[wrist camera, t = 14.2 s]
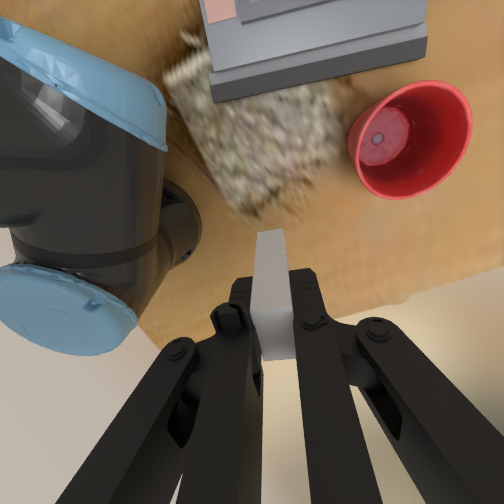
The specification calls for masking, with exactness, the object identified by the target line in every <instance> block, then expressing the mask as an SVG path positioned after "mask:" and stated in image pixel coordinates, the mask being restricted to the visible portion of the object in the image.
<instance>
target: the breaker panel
mask: <svg viewBox="0 0 504 504" xmlns="http://www.w3.org/2000/svg"><path fill="white" fill-rule="evenodd" d="M199 2H200V7H201V11H202V16H203V21H204V26H205V31H206V36H207V40H208V45H209V50H210V55H211V60H212V64H213V69H214V72H216V73H220V72H224V71H228V70H233V69H237V68H241V67H245V66H250V65H254V64H258V63H262V62H267V61H271V60H275V59H279V58H284V57H288V56H292V55H296V54H301V53H305V52H309V51H314V50H318V49H322V48H326V47H331V46H335V45H339V44H343V43H348V42H352V41H356V40H360V39H365V38H369V37H373V36H377V35H382V34H386V33H390V32H394V31H399V30H403V29H407V28H412V27H416V26H418V25H420V24H422V23H424V22H425V17H426V8H427V0H199Z"/></svg>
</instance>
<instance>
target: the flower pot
mask: <svg viewBox="0 0 504 504" xmlns="http://www.w3.org/2000/svg"><path fill="white" fill-rule="evenodd" d="M472 125H473V121H472V112H471V108H470V105H469V103H468V101H467V99H466V98H465V96H464V95H463V94H462V93H461V92H460V91H459V90H458V89H457V88H455V87H454V86H452V85H450V84H448V83H445V82H442V81H436V80H425V81H419V82H414V83H411V84H408V85H406V86H403V87H401V88H399V89H397V90H395V91H394V92H392V93H390V94H388V95H387V96H385V97H384V98H382V99H381V100H379V101H377V102H376V103H374V104H373V105H372V106H370V107H369V108H368V109H366V110H365V111H364V112H363V113H361V114H360V115H359V116H358V117H357V119H356V120H355V121H354V123H353V125H352V127H351V129H350V131H349V135H348V142H347V144H348V151H349V154H350V158H351V161H352V163H353V166H354V168H355V171H356V173H357V175H358V177H359V179H360V181H361V182H362V184H363V185H364V186H365V188H366V189H367V190H368V191H370V192H371V193H372V194H374V195H376V196H378V197H381V198H385V199H391V200H399V199H407V198H411V197H415V196H418V195H420V194H423V193H425V192H427V191H429V190H430V189H432V188H434V187H435V186H437V185H438V184H439V183H441V182H442V181H443V180H444V179H446V178H447V177H448V176H449V175H450V174H451V173H452V171H453V170H454V169H455V168H456V167H457V165H458V164H459V162H460V161H461V159H462V157H463V156H464V154H465V152H466V149H467V147H468V144H469V141H470V138H471V134H472Z"/></svg>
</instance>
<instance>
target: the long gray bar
mask: <svg viewBox="0 0 504 504" xmlns="http://www.w3.org/2000/svg"><path fill="white" fill-rule="evenodd" d="M426 30H427V23H423V24H420V25H418V26H416V27H412V28H407V29H403V30H399V31H394V32H390V33H386V34H382V35H377V36H373V37H369V38H365V39H360V40H356V41H352V42H348V43H343V44H339V45H335V46H331V47H326V48H322V49H318V50H314V51H309V52H305V53H301V54H296V55H292V56H288V57H284V58H279V59H275V60H271V61H267V62H262V63H258V64H254V65H250V66H245V67H241V68H237V69H233V70H228V71H224V72H220V73H216V72H215V73H211V74H208V75H209V79H210V84H211V86H210V87H211V92H212V96H213V101H214V103H220V102H225V101H229V100H234V99H238V98H243V97H248V96H252V95H257V94H261V93H266V92H271V91H275V90H280V89H285V88H289V87H294V86H298V85H303V84H308V83H312V82H317V81H321V80H326V79H331V78H335V77H340V76H344V75H349V74H354V73H358V72H363V71H368V70H372V69H377V68H381V67H386V66H391V65H395V64H400V63H404V62H409V61H414V60H418V59H421V58H424V57H425V54H426V46H427V37H428V36H426Z"/></svg>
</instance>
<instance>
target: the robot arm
mask: <svg viewBox="0 0 504 504" xmlns="http://www.w3.org/2000/svg"><path fill="white" fill-rule="evenodd" d="M166 117H167V107H166V103H165V99H164V97H163V95H162V93H161V92H160V91H159V89H158V88H157V87H156V86H155V85H154V84H153V83H152V82H150V81H148V80H147V79H145V78H143V77H141V76H139V75H137V74H134V73H132V72H130V71H128V70H126V69H124V68H121V67H119V66H117V65H115V64H112V63H110V62H108V61H106V60H103V59H101V58H99V57H97V56H94V55H92V54H90V53H88V52H85V51H83V50H81V49H78V48H76V47H74V46H71V45H69V44H67V43H64V42H62V41H60V40H57V39H55V38H53V37H50V36H48V35H46V34H43V33H41V32H38V31H36V30H34V29H31V28H29V27H26V26H23V25H21V24H19V23H17V22H14V21H11V20H9V19H7V18H4V17H2V16H0V228H9V229H10V233H11V237H12V241H13V246H14V250H15V254H16V258H15V261H14V262H13V263H12V264H8V265H6V266H3V267H0V321H2V322H3V323H4V324H5V325H6V326H7V327H9V328H10V329H11V330H13V331H14V332H16V333H17V334H19V335H20V336H22V337H24V338H26V339H27V340H29V341H31V342H33V343H35V344H37V345H40V346H42V347H45V348H48V349H50V350H53V351H57V352H61V353H65V354H70V355H77V356H94V355H99V354H102V353H106V352H109V351H111V350H114V349H115V348H117V347H118V346H119V345H120V344H121V343H122V342H123V340H124V339H125V338H126V337H127V335H128V334H129V333H130V332H131V330H132V329H134V328H135V327H136V326H137V322H138V319H139V318H140V316H141V315H142V313H143V311H144V310H145V308H146V307H147V305H148V303H149V302H150V300H151V299H152V297H153V295H154V294H155V292H156V290H157V289H158V287H159V286H160V284H161V282H162V281H163V279H164V278H165V276H166V274H167V273H168V271H169V270H171V269H173V268H174V267H176V266H178V265H179V264H181V263H183V262H184V261H186V260H187V259H188V258H189V257H190V256H191V255H192V253H193V252H194V250H195V249H196V247H197V245H198V243H199V241H200V238H201V233H202V224H201V218H200V215H199V212H198V210H197V208H196V206H195V204H194V202H193V201H192V200H191V198H190V197H189V196H188V195H187V194H186V193H185V192H184V191H183V190H182V189H181V188H179V187H178V186H177V185H175V184H173V183H172V182H170V181H167V180H165V179H163V175H164V165H165V154H166V152H168V146H167V144H166ZM210 318H211V320H212V323H213V326H214V328H215V331H216V334H215V335H213V336H212V337H210V338H208V339H205V340H202V341H200V342H197V343H195V342H194V341H193V340H192V339H191V338H188V337H180V338H177V339H174V340H173V341H171V342H170V343H168V344H167V345H166V346H165V347H164V348H163V349H162V351H161V352H160V354H159V355H158V357H157V358H156V359H155V361H154V362H153V364H152V365H151V367H150V368H149V369H148V371H147V372H146V374H145V375H144V376H143V378H142V379H141V381H140V382H139V384H138V385H137V387H136V388H135V390H134V391H133V392H132V394H131V395H130V397H129V398H128V399H127V401H126V402H125V404H124V405H123V407H122V408H121V410H120V411H119V412H118V414H117V415H116V417H115V418H114V420H113V421H112V423H111V424H110V425H109V427H108V428H107V430H106V431H105V433H104V434H103V435H102V437H101V438H100V440H99V441H98V443H97V444H96V445H95V447H94V449H93V450H92V451H91V453H90V454H89V456H88V457H87V458H86V460H85V461H84V463H83V464H82V466H81V467H80V469H79V470H78V471H77V473H76V474H75V476H74V477H73V478H72V480H71V482H70V483H69V484H68V486H67V487H66V489H65V490H64V491H63V493H62V494H61V496H60V498H59V499H58V500H57V501H56V503H55V504H170V502H171V499H172V497H173V494H174V492H175V490H176V487H177V485H178V482H179V480H180V478H181V475H182V473H183V475H182V479H181V483H180V488H179V492H178V496H177V500H176V504H261V477H262V476H261V475H262V425H263V375H264V374H263V369H262V366H261V355H262V357H263V361H271V360H283V359H295V358H296V361H297V370H298V380H299V390H300V399H301V409H302V418H303V428H304V438H305V447H306V457H307V466H308V475H309V476H308V477H309V486H310V496H311V504H383V502H382V499H381V495H380V492H379V489H378V485H377V481H376V478H375V474H374V471H373V467H372V464H371V460H370V457H369V453H368V450H367V446H366V442H365V439H364V436H363V432H362V429H361V425H360V421H359V418H358V414H357V411H356V407H355V404H354V400H353V397H352V394H351V390H350V386H349V385H353V386H357V387H358V388H359V390H360V392H361V393H362V395H363V397H364V399H365V400H366V402H367V404H368V406H369V407H370V409H371V411H372V412H373V414H374V416H375V417H376V419H377V420H378V423H379V424H380V426H381V427H382V429H383V431H384V433H385V434H386V436H387V438H388V440H389V441H390V443H391V445H392V446H393V448H394V450H395V451H396V453H397V455H398V457H399V458H400V460H401V462H402V463H403V465H404V467H405V468H406V470H407V472H408V474H409V475H410V477H411V479H412V480H413V482H414V484H415V485H416V487H417V489H418V490H419V492H420V494H421V496H422V497H423V499H424V501H425V502H426V504H504V437H503V436H502V434H501V433H500V432H499V431H498V430H496V428H495V427H494V426H493V425H492V424H491V423H490V422H489V421H488V420H487V419H486V418H485V417H484V416H483V415H482V414H481V413H480V412H479V410H477V408H476V407H475V406H474V405H473V404H472V403H471V402H470V401H469V400H468V399H467V398H466V397H465V396H464V395H463V394H462V393H461V392H460V391H459V390H458V389H457V388H456V387H455V386H454V385H453V383H451V381H449V379H448V378H447V377H446V376H445V375H444V374H443V373H442V372H441V371H440V370H439V369H438V368H437V367H436V366H435V365H434V364H433V363H432V362H431V361H430V360H429V359H428V357H427V356H426V355H424V353H423V352H422V351H421V350H420V349H419V348H418V347H417V346H416V345H415V344H414V343H413V342H412V341H411V340H410V339H409V338H408V337H407V336H406V335H405V334H404V332H403V331H402V330H401V329H400V328H399V327H398V326H397V325H395V324H394V323H392V322H391V321H389V320H386V319H383V318H379V317H369V318H365V319H363V320H361V321H359V323H358V324H357V325H356V326H355V325H348V324H343V323H340V322H337V321H335V320H334V319H332V318H331V317H330V316H329V315H328V314H327V312H326V309H325V306H324V302H323V299H322V295H321V291H320V288H319V284H318V281H317V277H316V274H315V273H314V272H313V271H312V270H311V269H310V268H305V269H297V270H290V269H289V263H288V256H287V250H286V244H285V237H284V231H283V228H282V229H276V230H269V231H263V232H257V242H256V252H255V262H254V273H253V276H251V277H243V278H237V280H236V281H235V282H234V283H233V285H232V288H231V294H230V297H229V302H226V303H223V304H221V305H219V306H217V307H216V308H215V309H214V310H213V311H212V313H211V315H210Z"/></svg>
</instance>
